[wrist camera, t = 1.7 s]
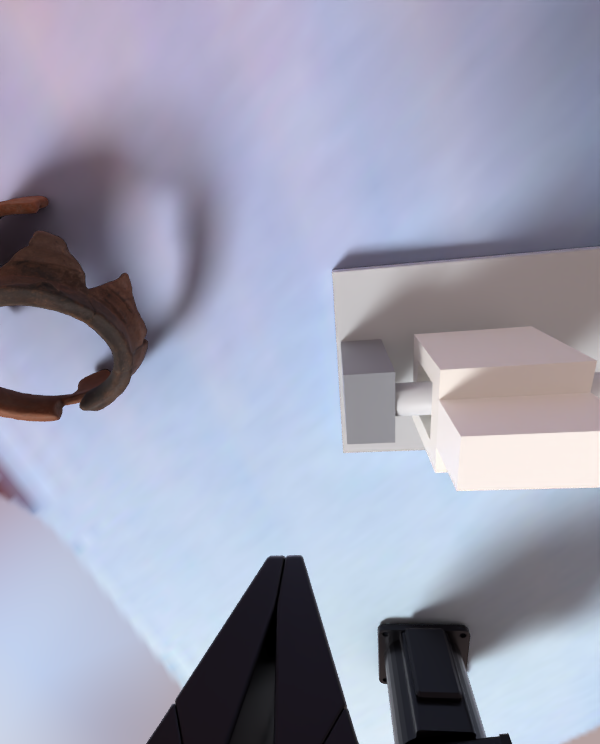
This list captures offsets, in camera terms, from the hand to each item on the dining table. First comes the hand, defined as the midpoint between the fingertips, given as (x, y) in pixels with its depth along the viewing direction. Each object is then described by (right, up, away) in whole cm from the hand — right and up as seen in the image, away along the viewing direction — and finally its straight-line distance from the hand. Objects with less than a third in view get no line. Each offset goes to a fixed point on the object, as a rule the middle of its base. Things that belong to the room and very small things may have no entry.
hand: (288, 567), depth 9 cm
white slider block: (+8, +5, +8) cm, 12 cm away
